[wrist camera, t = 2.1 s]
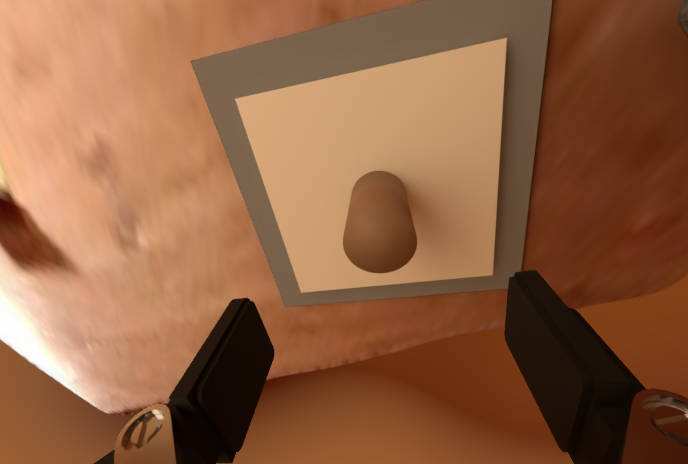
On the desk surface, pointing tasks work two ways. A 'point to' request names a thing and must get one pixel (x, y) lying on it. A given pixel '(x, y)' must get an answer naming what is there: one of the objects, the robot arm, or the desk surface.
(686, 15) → the mortar and pestle
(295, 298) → the slate mat
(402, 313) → the desk surface
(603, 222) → the desk surface
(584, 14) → the desk surface
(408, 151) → the cover board
